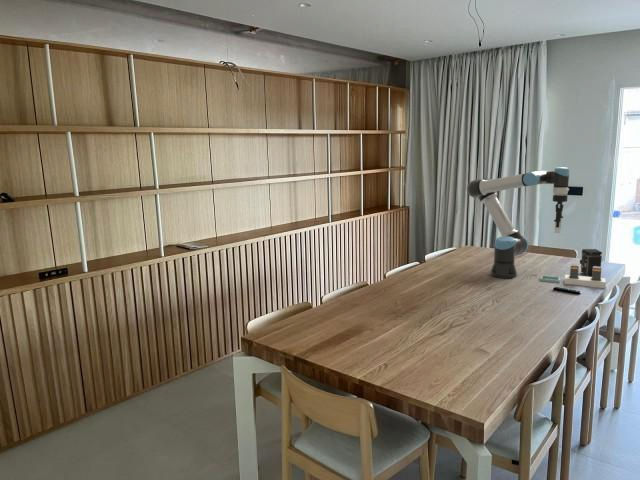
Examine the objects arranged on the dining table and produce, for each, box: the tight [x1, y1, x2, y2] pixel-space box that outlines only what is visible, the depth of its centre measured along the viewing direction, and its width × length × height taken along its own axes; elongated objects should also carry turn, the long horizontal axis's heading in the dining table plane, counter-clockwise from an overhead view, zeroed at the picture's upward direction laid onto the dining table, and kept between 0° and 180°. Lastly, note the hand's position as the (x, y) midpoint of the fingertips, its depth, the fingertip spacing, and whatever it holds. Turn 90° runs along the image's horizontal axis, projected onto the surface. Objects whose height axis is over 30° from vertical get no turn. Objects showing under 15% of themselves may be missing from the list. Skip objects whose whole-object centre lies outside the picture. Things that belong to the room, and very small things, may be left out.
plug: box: [569, 263, 580, 279], centre depth 267 cm, size 4×4×10 cm
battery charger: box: [564, 266, 607, 289], centre depth 264 cm, size 20×9×10 cm, turn 61°
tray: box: [539, 275, 561, 284], centre depth 273 cm, size 10×8×2 cm
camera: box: [579, 248, 603, 276], centre depth 285 cm, size 10×10×15 cm
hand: (557, 231), depth 272 cm, fingers open, 13 cm apart
